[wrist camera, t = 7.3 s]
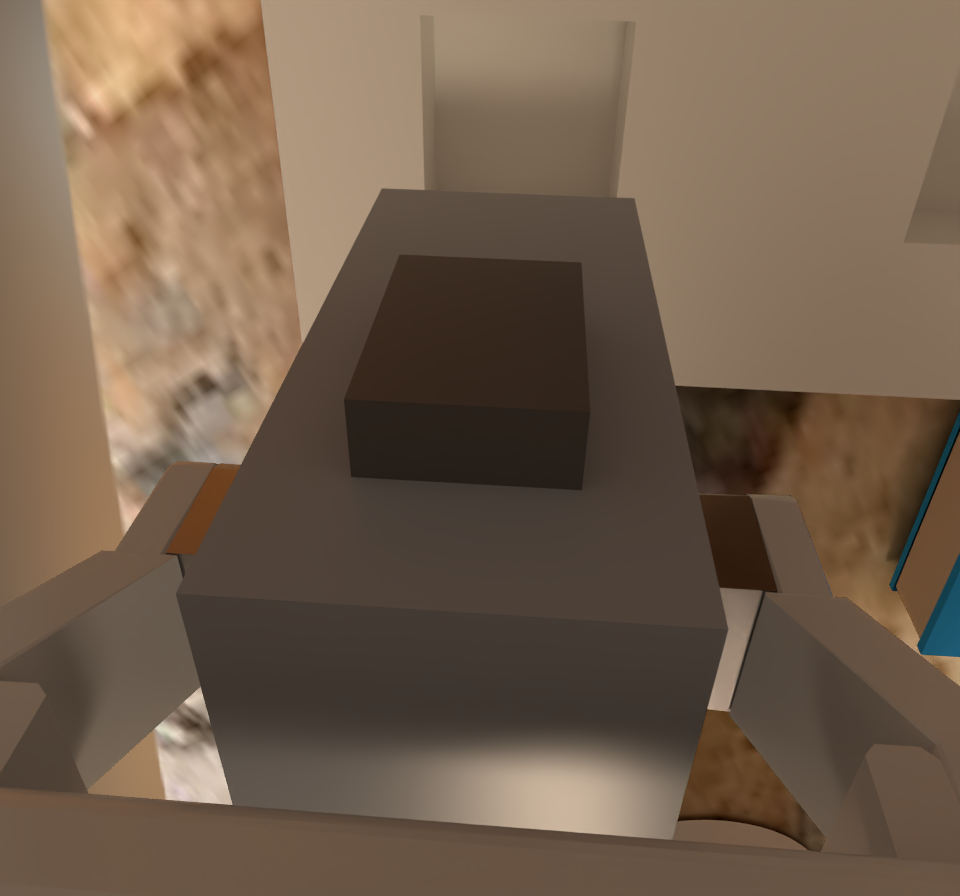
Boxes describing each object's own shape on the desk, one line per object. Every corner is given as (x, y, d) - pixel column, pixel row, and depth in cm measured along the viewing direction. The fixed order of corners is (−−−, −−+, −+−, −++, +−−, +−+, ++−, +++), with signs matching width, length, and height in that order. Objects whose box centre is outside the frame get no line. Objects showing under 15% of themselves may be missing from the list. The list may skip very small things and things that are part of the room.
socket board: (1101, 349, 30) (1172, 415, 27) (330, 313, 32) (303, 371, 28) (1384, -216, 21) (1548, -228, 18) (277, -232, 23) (227, -245, 19)
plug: (608, 412, 16) (653, 910, 8) (393, 400, 16) (252, 877, 9) (641, 146, 13) (750, 545, 6) (379, 136, 13) (152, 508, 6)
